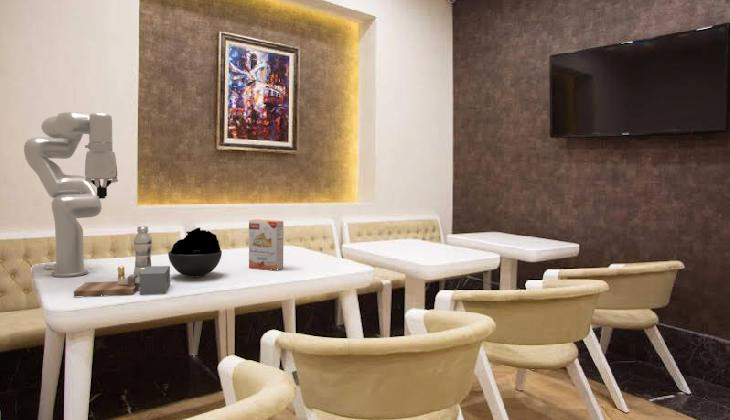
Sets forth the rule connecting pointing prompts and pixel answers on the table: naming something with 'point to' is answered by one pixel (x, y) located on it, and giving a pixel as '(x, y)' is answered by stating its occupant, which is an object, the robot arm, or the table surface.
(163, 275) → the block
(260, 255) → the cracker box
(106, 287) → the brown wooden flat slab
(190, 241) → the bowl of black rocks
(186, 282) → the table surface
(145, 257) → the plastic bottle
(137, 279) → the bolt
